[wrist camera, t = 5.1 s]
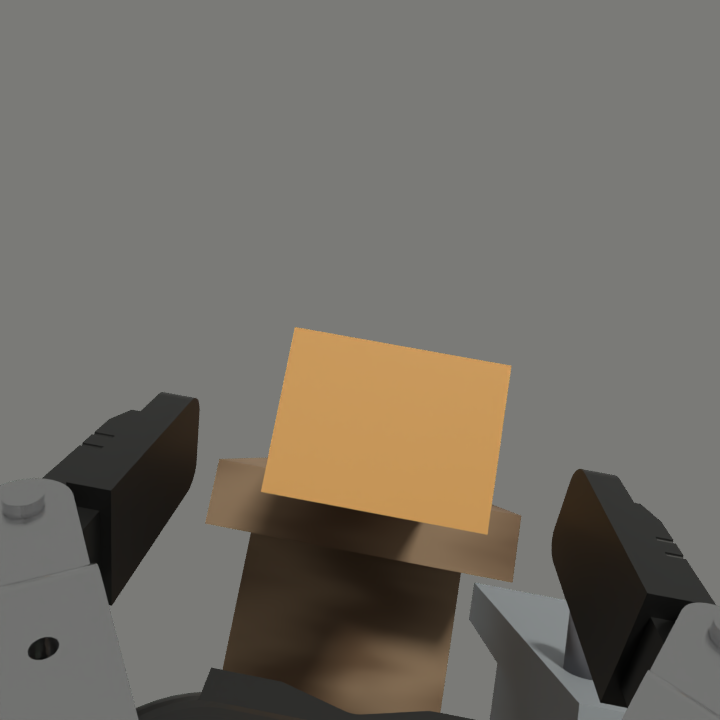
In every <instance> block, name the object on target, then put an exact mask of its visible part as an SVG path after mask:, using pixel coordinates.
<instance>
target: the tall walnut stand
mask: <svg viewBox="0 0 720 720" xmlns="http://www.w3.org/2000/svg"><path fill="white" fill-rule="evenodd" d="M267 460H268V458H240V459H219V463H218V468H217V473H216V477H215V481H214V486H213V490H212V495H211V500H210V504H209V509H208V513H207V518H206V522H205V523H206V524H211V525H216V526H221V527H226V528H232V529H237V530H242V531H248V532H251V535H250V541H249V545H248V550H247V554H246V559H245V564H244V569H243V574H242V579H241V583H240V588H239V593H238V598H237V603H236V607H235V612H234V617H233V622H232V627H231V632H230V636H229V641H228V646H227V651H226V656H225V661H224V666H223V670H225V671H230V672H235V673H241V674H246V675H251V676H256V677H261V678H266V679H271V680H276V681H281V682H284V683H286V684H288V685H290V686H292V687H294V688H296V689H299V690H301V691H303V692H305V693H307V694H309V695H312V696H314V697H316V698H318V699H320V700H322V701H324V702H327V703H329V704H331V705H333V706H335V707H337V708H339V709H342V710H344V711H346V712H349V713H352V714H379V713H397V712H416V711H433V712H438V713H440V710H441V704H442V697H443V690H444V683H445V676H446V670H447V663H448V656H449V649H450V643H451V635H452V629H453V622H454V615H455V609H456V602H457V595H458V588H459V582H460V574H461V573H466V574H471V575H476V576H481V577H487V578H492V579H497V580H502V581H507V582H513V574H514V567H515V559H516V552H517V543H518V536H519V529H520V521H521V516H520V515H518V514H515V513H512V512H510V511H507V510H505V509H502V508H499V507H497V506H494V505H492V506H491V513H490V520H489V527H488V534H487V535H486V534H481V533H475V532H470V531H465V530H460V529H454V528H449V527H444V526H438V525H433V524H428V523H423V522H417V521H412V520H407V519H402V518H396V517H391V516H386V515H380V514H375V513H370V512H365V511H359V510H354V509H349V508H344V507H338V506H333V505H328V504H322V503H317V502H312V501H307V500H301V499H296V498H291V497H286V496H280V495H275V494H270V493H264V492H261V489H262V484H263V479H264V474H265V470H266V465H267Z"/></svg>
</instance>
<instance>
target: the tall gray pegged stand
mask: <svg viewBox="0 0 720 720" xmlns="http://www.w3.org/2000/svg"><path fill="white" fill-rule="evenodd" d="M469 620H470V621H471V623H472V624H473V626H474V627H475V629H476V630H477V632H478V634H479V635H480V637H481V638H482V640H483V641H484V643H485V644H486V646H487V647H488V649H489V651H490V652H491V654H492V655H493V657H494V658H495V660H496V661H497V671H496V678H495V686H494V693H493V701H492V709H491V715H490V720H622V718H623V716H624V714H625V712H626V710H627V708H625V707H619V706H614V705H609V704H604V703H600V701H599V698H598V695H597V692H596V689H595V686H594V683H593V680H592V677H591V674H590V671H589V668H588V665H587V662H586V659H585V656H584V653H583V650H582V647H581V644H580V641H579V638H578V635H577V632H576V629H575V626H574V623H573V620H572V617H571V614H570V611H569V608H568V605H567V602H566V600H562V599H557V598H552V597H546V596H541V595H536V594H531V593H526V592H520V591H515V590H510V589H505V588H500V587H495V586H489V585H484V584H479V583H474V588H473V595H472V602H471V610H470V617H469Z"/></svg>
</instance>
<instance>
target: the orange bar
mask: <svg viewBox="0 0 720 720" xmlns="http://www.w3.org/2000/svg"><path fill="white" fill-rule="evenodd" d="M510 372H511V366H510V365H504V364H498V363H493V362H487V361H482V360H476V359H470V358H465V357H459V356H454V355H448V354H442V353H437V352H431V351H426V350H420V349H414V348H409V347H403V346H398V345H392V344H386V343H381V342H375V341H370V340H364V339H359V338H353V337H347V336H342V335H336V334H331V333H325V332H319V331H314V330H308V329H302V328H296V327H295V330H294V334H293V340H292V344H291V350H290V354H289V359H288V364H287V368H286V373H285V378H284V383H283V388H282V393H281V397H280V402H279V407H278V412H277V417H276V421H275V426H274V431H273V436H272V441H271V445H270V450H269V456H268V460H267V465H266V470H265V474H264V479H263V484H262V489H261V492H264V493H270V494H275V495H280V496H286V497H291V498H296V499H301V500H307V501H312V502H317V503H322V504H328V505H333V506H338V507H344V508H349V509H354V510H359V511H365V512H370V513H375V514H380V515H386V516H391V517H396V518H402V519H407V520H412V521H417V522H423V523H428V524H433V525H438V526H444V527H449V528H454V529H460V530H465V531H470V532H475V533H481V534H486V535H487V534H488V527H489V520H490V513H491V506H492V499H493V492H494V485H495V478H496V470H497V464H498V456H499V449H500V443H501V435H502V428H503V421H504V414H505V407H506V400H507V393H508V386H509V379H510Z"/></svg>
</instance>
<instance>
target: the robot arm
mask: <svg viewBox="0 0 720 720" xmlns="http://www.w3.org/2000/svg"><path fill="white" fill-rule="evenodd" d="M198 426H199V402H198V399H196V398H192V397H187V396H181V395H175V394H169V393H164V392H161V393H160V394H158V395H157V396H156V397H155V398H154V399H153V400H152V401H151V402H150V403H149V404H148V405H147V406H146V407H145V408H144V409H143V410H142V411H135V410H130V411H128V412H125V413H123V414H121V415H118V416H116V417H113V418H111V419H109V420H108V421H107V422H106V423H105V424H103V425H102V426H101V427H100V428H99V429H98V430H97V431H95V434H94V435H91V436H90V437H89V438H88V439H86V440H85V441H84V442H83V444H82V446H78V447H77V448H76V449H75V450H74V451H73V452H72V453H70V454H69V455H68V456H67V457H66V458H65V459H64V460H63V461H61V462H60V463H59V464H58V465H57V466H56V467H54V468H53V469H52V470H51V471H50V472H49V473H48V474H47V475H45V476H44V477H43V478H42V479H41V478H35V479H33V478H32V479H22V480H16V481H12V482H8V483H5V484H2V485H0V720H473V719H468V718H463V717H458V716H453V715H448V714H443V713H438V712H433V711H416V712H397V713H379V714H352V713H349V712H346V711H344V710H342V709H339V708H337V707H335V706H333V705H331V704H329V703H327V702H324V701H322V700H320V699H318V698H316V697H314V696H312V695H309V694H307V693H305V692H303V691H301V690H299V689H296V688H294V687H292V686H290V685H288V684H286V683H284V682H281V681H276V680H271V679H266V678H261V677H256V676H251V675H246V674H241V673H235V672H230V671H225V670H220V669H215V668H211V670H210V672H209V675H208V677H207V680H206V682H205V685H204V688H203V690H202V692H197V693H187V694H181V695H175V696H170V697H167V698H163V699H160V700H156V701H153V702H150V703H148V704H145V705H143V706H140V707H138V708H135V704H134V701H133V696H132V693H131V689H130V685H129V681H128V678H127V674H126V669H125V666H124V662H123V658H122V654H121V650H120V646H119V642H118V639H117V635H116V631H115V627H114V623H113V620H112V616H111V612H110V608H109V605H112V604H113V603H114V601H115V600H116V598H117V597H118V595H119V594H120V592H121V591H122V589H123V588H124V586H125V585H126V583H127V582H128V580H129V579H130V577H131V576H132V574H133V573H134V571H135V570H136V568H137V567H138V565H139V564H140V562H141V561H142V559H143V558H144V556H145V555H146V553H147V552H148V550H149V549H150V547H151V546H152V544H153V543H154V541H155V539H156V538H157V537H158V535H159V534H160V532H161V531H162V529H163V528H164V526H165V525H166V523H167V522H168V520H169V519H170V517H171V516H172V514H173V513H174V511H175V510H176V508H177V507H178V505H179V504H180V502H181V501H182V499H183V498H184V496H185V495H186V493H187V492H188V490H189V488H190V486H191V483H192V481H193V477H194V473H195V469H196V460H197V443H198ZM552 558H553V563H554V566H555V568H556V571H557V575H558V577H559V581H560V583H561V586H562V590H563V593H564V596H565V599H566V602H567V605H568V608H569V611H570V614H571V617H572V620H573V623H574V626H575V629H576V632H577V635H578V638H579V641H580V644H581V647H582V650H583V653H584V656H585V659H586V662H587V665H588V668H589V671H590V674H591V677H592V680H593V683H594V686H595V689H596V692H597V695H598V698H599V701H600V703H604V704H609V705H614V706H619V707H625V708H627V710H626V712H625V714H624V716H623V718H622V720H720V606H717V605H716V604H715V603H714V601H713V600H712V598H711V597H710V595H709V594H708V592H707V591H706V589H705V588H704V586H703V585H702V583H701V581H700V580H699V578H698V577H697V575H696V574H695V572H694V571H693V569H692V568H691V566H690V565H689V563H688V562H687V560H686V559H683V554H682V553H681V551H680V550H679V548H678V547H677V545H676V544H674V543H673V539H672V537H671V536H670V534H669V533H668V531H667V530H666V528H665V527H664V525H663V524H662V522H661V521H660V520H659V519H657V518H656V517H655V516H653V514H651V513H650V512H649V511H648V510H647V509H646V508H644V507H643V506H642V505H641V504H637V503H634V502H633V500H632V499H631V497H630V495H629V494H628V492H627V490H626V489H625V487H624V486H623V484H622V483H621V481H620V479H619V478H618V477H617V476H615V475H610V474H605V473H599V472H593V471H588V470H583V469H578V470H577V471H576V472H575V473H574V474H573V476H572V479H571V481H570V484H569V487H568V490H567V493H566V496H565V499H564V502H563V505H562V508H561V511H560V514H559V517H558V520H557V523H556V526H555V529H554V532H553V537H552Z"/></svg>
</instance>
